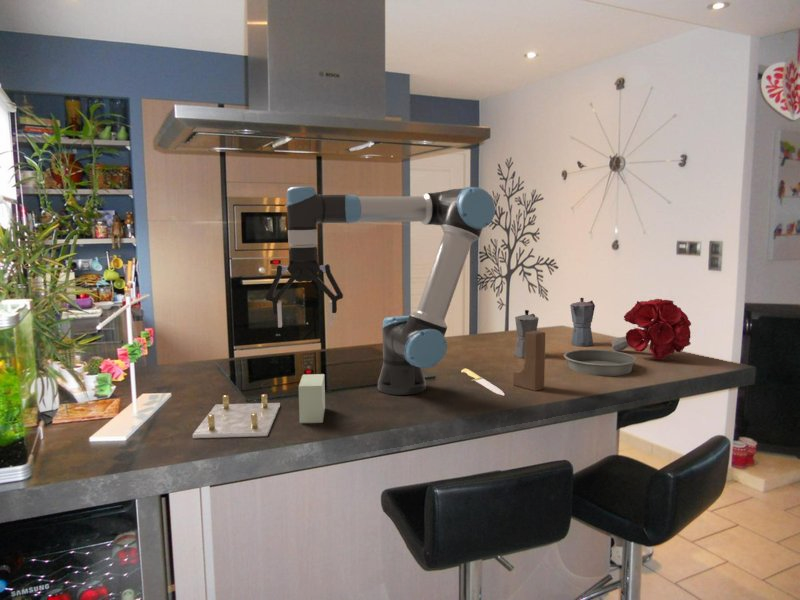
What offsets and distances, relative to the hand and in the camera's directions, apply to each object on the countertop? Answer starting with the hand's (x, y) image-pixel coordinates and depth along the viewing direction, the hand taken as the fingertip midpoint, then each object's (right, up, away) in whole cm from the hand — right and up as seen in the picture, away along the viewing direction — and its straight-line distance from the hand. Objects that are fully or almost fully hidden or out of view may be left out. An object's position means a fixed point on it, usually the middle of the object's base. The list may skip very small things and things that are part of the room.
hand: (305, 326), depth 160 cm
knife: (+51, -20, +35) cm, 65 cm away
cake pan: (+96, -18, +53) cm, 111 cm away
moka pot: (+102, -12, +93) cm, 139 cm away
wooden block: (+66, -21, +29) cm, 75 cm away
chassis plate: (-17, -25, -2) cm, 30 cm away
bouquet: (+121, -15, +69) cm, 140 cm away
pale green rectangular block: (+1, -25, +3) cm, 25 cm away
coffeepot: (+75, -15, +73) cm, 106 cm away
